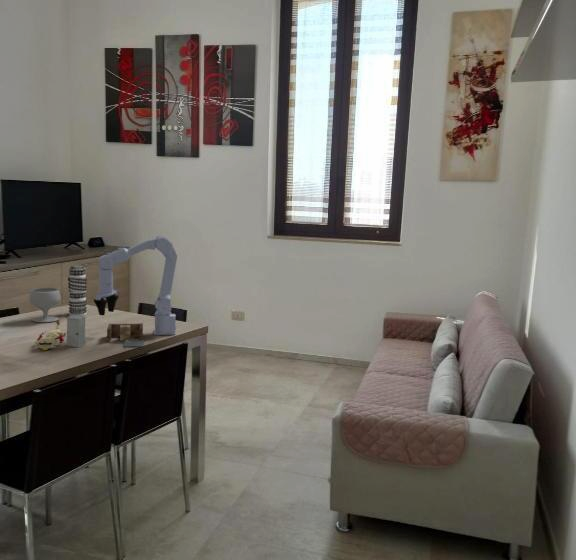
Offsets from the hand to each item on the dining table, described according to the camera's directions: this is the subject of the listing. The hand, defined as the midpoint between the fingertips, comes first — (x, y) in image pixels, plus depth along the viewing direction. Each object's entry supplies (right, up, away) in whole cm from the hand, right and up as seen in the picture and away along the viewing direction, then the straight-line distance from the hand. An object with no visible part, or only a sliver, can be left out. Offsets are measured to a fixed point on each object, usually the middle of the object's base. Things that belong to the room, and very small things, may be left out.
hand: (106, 313), depth 243 cm
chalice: (-37, -5, +24) cm, 45 cm away
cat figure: (-18, -12, -14) cm, 26 cm away
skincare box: (-7, -12, -15) cm, 21 cm away
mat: (+15, -13, -11) cm, 23 cm away
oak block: (+9, -11, -3) cm, 15 cm away
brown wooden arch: (+9, -11, -2) cm, 14 cm away
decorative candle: (-28, -3, +40) cm, 48 cm away
